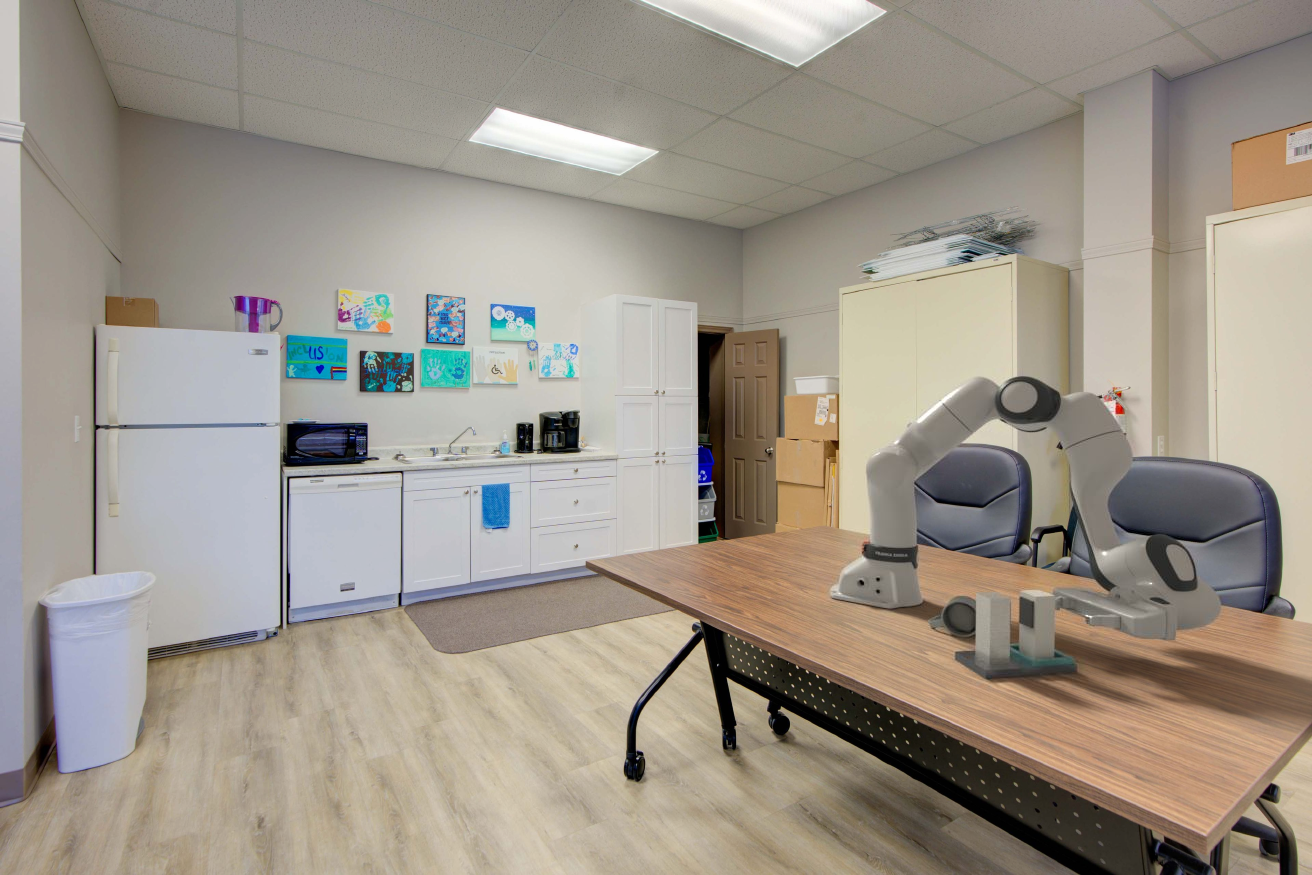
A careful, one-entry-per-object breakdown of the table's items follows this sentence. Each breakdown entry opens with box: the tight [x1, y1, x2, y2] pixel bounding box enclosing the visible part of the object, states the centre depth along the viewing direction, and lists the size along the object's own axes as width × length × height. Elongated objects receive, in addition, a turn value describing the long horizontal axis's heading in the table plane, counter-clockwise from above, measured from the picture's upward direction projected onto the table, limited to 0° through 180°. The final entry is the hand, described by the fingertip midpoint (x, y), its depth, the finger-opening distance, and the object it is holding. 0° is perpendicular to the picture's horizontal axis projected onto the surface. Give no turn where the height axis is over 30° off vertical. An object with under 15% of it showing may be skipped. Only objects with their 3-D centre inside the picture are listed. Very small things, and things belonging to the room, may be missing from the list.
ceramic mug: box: [928, 595, 976, 638], centre depth 135 cm, size 11×8×8 cm
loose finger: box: [1018, 589, 1056, 659], centre depth 116 cm, size 4×4×12 cm
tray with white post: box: [954, 591, 1078, 680], centre depth 116 cm, size 18×9×14 cm, turn 98°
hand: (1067, 612), depth 117 cm, fingers open, 8 cm apart
